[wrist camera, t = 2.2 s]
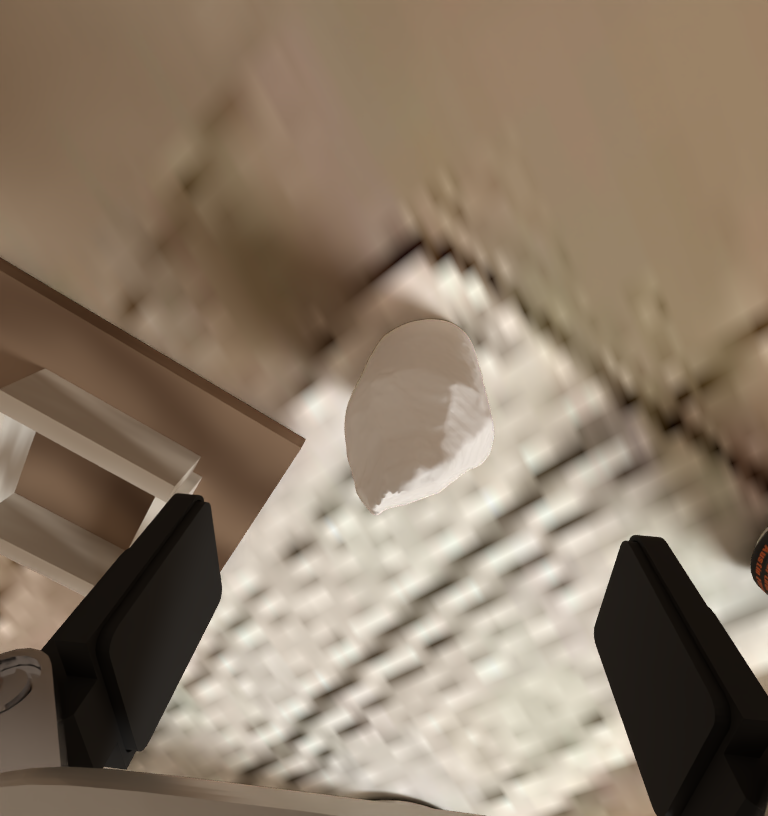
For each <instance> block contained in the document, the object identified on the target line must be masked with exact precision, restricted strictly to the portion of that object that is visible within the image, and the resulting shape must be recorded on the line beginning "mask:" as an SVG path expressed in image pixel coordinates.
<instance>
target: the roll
mask: <svg viewBox="0 0 768 816" xmlns="http://www.w3.org/2000/svg"><path fill="white" fill-rule="evenodd" d="M345 440H346V447H347V457H348V462H349V465H350V467H351V470H352V476H353V479H354V482H355V488H356V492H357V494H358V496H359V498H360V499H361V501H362V502H363V504H364V505H365V506H366V507H367V509H368V510H369V511H370V512H371V513H372V514H373V515H379V514H381V512H382V511H384V510H387V509H389V508H393V507H396V506H402V505H406V504H409V503H411V502H415V501H418V500H421V499H424V498H426V497H429V496H432V495H434V494H437V493H439V492H441V491H442V490H443V489H444V488H446V487H447V486H448V485H449V484H451V483H452V482H453V481H455V480H456V479H458V478H459V477H460V476H461V475H463V474H464V473H466V472H467V471H468V470H469V469H473V468H476V467H478V466H480V465H481V464H482V463H483V462H484V461H485V460H486V459H487V457H488V456H489V454H490V452H491V448H492V444H493V441H494V423H493V418H492V415H491V409H490V405H489V401H488V396H487V393H486V389H485V386H484V382H483V376H482V373H481V369H480V366H479V362H478V358H477V355H476V352H475V349H474V347H473V344H472V342H471V340H470V339H469V337H468V336H467V334H466V333H465V332H464V331H463V330H462V329H461V328H459V327H458V326H456V325H455V324H453V323H451V322H448V321H443V320H437V319H425V320H418V321H413V322H409V323H407V324H404V325H402V326H400V327H397V328H396V329H394V330H392V331H391V332H389V333H387V334H386V335H385V336H384V337H383V338H382V339H381V340H380V342H379V343H378V344H377V346H376V348H375V349H374V351H373V352H372V354H371V356H370V358H369V360H368V362H367V364H366V366H365V368H364V371H363V373H362V375H361V377H360V379H359V381H358V383H357V384H356V386H355V389H354V390H353V393H352V395H351V398H350V400H349V402H348V406H347V410H346V415H345Z"/></svg>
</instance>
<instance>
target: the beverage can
mask: <svg viewBox="0 0 768 816" xmlns="http://www.w3.org/2000/svg"><path fill="white" fill-rule="evenodd" d="M751 573H752V576H753V579H754V581H755V582H756V584H757V585H758V586H759V587H760V588H761V589H762V590H763V591H764V592H765V593H766V594H767V595H768V527H767V528H766V529H765V530H764V532H763V533H762V534H761V536H760V538H759V539H758V541H757V544H756V547H755V549H754V552H753V555H752V559H751Z"/></svg>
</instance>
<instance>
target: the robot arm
mask: <svg viewBox="0 0 768 816" xmlns="http://www.w3.org/2000/svg"><path fill="white" fill-rule="evenodd" d="M221 594H222V583H221V576H220V569H219V562H218V554H217V547H216V540H215V532H214V525H213V518H212V510H211V505H210V503H209V502H204V498H203V497H202V496H201V495H194V494H183V493H176V494H174V495H173V496H172V497H171V498H170V500H169V501H168V502H167V503H166V504H165V506H164V507H163V508H162V509H161V510H160V512H159V513H158V514H157V515H156V516H155V518H154V519H153V520H152V521H151V523H150V524H149V525H148V526H147V527H146V529H145V530H144V531H143V532H142V533H141V535H140V536H139V537H138V538H137V540H136V541H135V542H134V543H133V544H132V546H131V547H130V548H128V549H126V550H125V551H124V552H123V553H122V554H121V555H120V556H119V557H118V558H117V560H116V561H115V562H114V563H113V564H112V566H111V567H110V568H109V569H108V570H107V572H106V573H105V574H104V575H103V576H102V578H101V579H100V580H99V581H98V582H97V584H96V585H95V586H94V587H93V588H92V590H91V591H90V592H89V593H88V594H87V596H86V597H85V598H84V599H83V600H82V602H81V603H80V604H79V605H78V606H77V608H76V609H75V610H74V611H73V612H72V614H71V615H70V616H69V617H68V618H67V620H66V621H65V622H64V623H63V624H62V626H61V627H60V628H59V629H58V630H57V632H56V633H55V634H54V635H53V636H52V638H51V639H50V640H49V641H48V642H47V644H46V645H45V646H44V647H43V648H42V650H37V649H32V648H25V649H15V650H12V651H9V652H5V653H2V654H0V816H485V815H477V814H470V813H462V812H455V811H447V810H440V809H433V808H430V807H428V806H425V805H421V804H417V803H413V802H407V801H399V800H376V801H371V800H363V799H356V798H348V797H340V796H333V795H325V794H317V793H309V792H301V791H293V790H285V789H277V788H269V787H261V786H253V785H246V784H238V783H230V782H222V781H214V780H206V779H198V778H190V777H181V776H171V775H162V774H152V773H143V772H133V771H123V770H114V769H103V767H111V768H119V769H126V770H127V768H128V766H129V764H130V762H131V760H132V758H133V756H134V754H135V752H136V751H142V750H144V748H145V747H146V746H147V744H148V742H149V741H150V739H151V737H152V735H153V733H154V731H155V729H156V727H157V725H158V723H159V721H160V719H161V717H162V715H163V713H164V711H165V709H166V707H167V705H168V703H169V701H170V699H171V697H172V695H173V693H174V691H175V689H176V687H177V685H178V683H179V681H180V679H181V677H182V675H183V673H184V671H185V669H186V667H187V665H188V663H189V662H190V660H191V658H192V656H193V654H194V652H195V650H196V648H197V646H198V644H199V642H200V640H201V638H202V636H203V634H204V632H205V630H206V628H207V626H208V624H209V622H210V620H211V618H212V616H213V614H214V612H215V610H216V608H217V606H218V604H219V602H220V599H221ZM594 639H595V644H596V647H597V650H598V652H599V655H600V658H601V661H602V664H603V667H604V670H605V673H606V675H607V678H608V681H609V684H610V687H611V690H612V693H613V695H614V698H615V701H616V704H617V707H618V710H619V713H620V715H621V718H622V721H623V724H624V727H625V730H626V733H627V736H628V738H629V741H630V744H631V747H632V750H633V753H634V756H635V758H636V761H637V764H638V767H639V770H640V773H641V776H642V778H643V781H644V784H645V787H646V790H647V793H648V796H649V799H650V801H651V804H652V807H653V809H654V811H655V813H656V815H657V816H768V695H767V694H766V692H765V691H764V689H763V688H762V686H761V685H760V683H759V681H758V680H757V678H756V677H755V675H754V674H753V672H752V671H751V669H750V668H749V666H748V664H747V663H746V661H745V660H744V658H743V657H742V655H741V654H740V652H739V651H738V649H737V647H736V646H735V644H734V643H733V641H732V640H731V638H730V637H729V635H728V634H727V632H726V631H725V629H724V627H723V626H722V624H721V623H720V621H719V620H718V618H717V617H716V615H715V614H714V613H713V611H712V610H711V609H710V608H709V607H708V606H707V605H706V603H705V602H704V600H703V598H702V597H701V595H700V594H699V592H698V591H697V589H696V588H695V586H694V584H693V583H692V581H691V580H690V578H689V577H688V575H687V574H686V572H685V570H684V569H683V567H682V566H681V564H680V563H679V561H678V560H677V558H676V556H675V555H674V553H673V552H672V550H671V549H670V547H669V546H668V544H667V542H666V541H665V540H664V539H663V538H661V537H651V536H640V535H633V536H632V537H631V538H630V540H629V541H623V542H622V544H621V546H620V549H619V552H618V555H617V558H616V561H615V565H614V568H613V571H612V574H611V577H610V580H609V583H608V586H607V589H606V592H605V596H604V599H603V602H602V605H601V608H600V611H599V614H598V617H597V620H596V623H595V627H594Z"/></svg>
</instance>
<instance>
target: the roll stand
mask: <svg viewBox="0 0 768 816" xmlns="http://www.w3.org/2000/svg"><path fill="white" fill-rule="evenodd" d="M305 440H306V439H304V438H302V437H301V436H299V435H297V434H295V433H294V432H292V431H290V430H289V429H287V428H285V427H284V426H282V425H280V424H279V423H277V422H275V421H274V420H272V419H270V418H269V417H267V416H265V415H264V414H262V413H260V412H258V411H257V410H255V409H253V408H252V407H250V406H248V405H247V404H245V403H243V402H242V401H240V400H238V399H237V398H235V397H233V396H232V395H230V394H228V393H227V392H225V391H223V390H221V389H220V388H218V387H216V386H215V385H213V384H211V383H210V382H208V381H206V380H205V379H203V378H201V377H200V376H198V375H196V374H195V373H193V372H191V371H190V370H188V369H186V368H184V367H183V366H181V365H179V364H178V363H176V362H174V361H173V360H171V359H169V358H168V357H166V356H164V355H163V354H161V353H159V352H158V351H156V350H154V349H153V348H151V347H149V346H147V345H146V344H144V343H142V342H141V341H139V340H137V339H136V338H134V337H132V336H131V335H129V334H127V333H126V332H124V331H122V330H121V329H119V328H117V327H116V326H114V325H112V324H110V323H109V322H107V321H105V320H104V319H102V318H100V317H99V316H97V315H95V314H94V313H92V312H90V311H89V310H87V309H85V308H84V307H82V306H80V305H79V304H77V303H75V302H74V301H72V300H70V299H68V298H67V297H65V296H63V295H62V294H60V293H58V292H57V291H55V290H53V289H52V288H50V287H48V286H47V285H45V284H43V283H42V282H40V281H38V280H37V279H35V278H33V277H31V276H30V275H28V274H26V273H25V272H23V271H21V270H20V269H18V268H16V267H15V266H13V265H11V264H10V263H8V262H6V261H5V260H3V259H1V258H0V554H1V555H3V556H5V557H7V558H9V559H11V560H13V561H15V562H17V563H19V564H21V565H23V566H25V567H27V568H29V569H31V570H33V571H35V572H37V573H39V574H41V575H43V576H45V577H47V578H49V579H51V580H53V581H55V582H57V583H59V584H61V585H63V586H65V587H67V588H69V589H71V590H73V591H75V592H77V593H79V594H81V595H83V596H85V597H86V596H87V594H88V593H89V592H90V591H91V590H92V588H93V587H94V586H95V585H96V584H97V582H98V581H99V580H100V579H101V578H102V576H103V575H104V574H105V573H106V572H107V570H108V569H109V568H110V567H111V566H112V564H113V563H114V562H115V561H116V560H117V558H118V557H119V556H120V555H121V554H122V553H123V552H124V551H125V550H126V549H128V548H130V547H131V546H132V544H133V543H134V542H135V541H136V540H137V538H138V537H139V536H140V535H141V533H142V532H143V531H144V530H145V529H146V527H147V526H148V525H149V524H150V523H151V521H152V520H153V519H154V518H155V516H156V515H157V514H158V513H159V512H160V510H161V509H162V508H163V507H164V506H165V504H166V503H167V502H168V501H169V500H170V498H171V497H172V496H173V495H174V494H176V493H183V494H194V495H201V496H202V497H203V498H204V502H209V503H210V505H211V510H212V518H213V525H214V532H215V540H216V547H217V554H218V562H219V569H220V572H221V570H222V568H223V567H224V565H225V564H226V562H227V561H228V559H229V558H230V556H231V555H232V553H233V552H234V550H235V549H236V547H237V545H238V544H239V542H240V541H241V539H242V538H243V536H244V535H245V533H246V532H247V530H248V529H249V527H250V526H251V524H252V523H253V521H254V519H255V518H256V516H257V515H258V513H259V512H260V510H261V509H262V507H263V506H264V504H265V503H266V501H267V500H268V498H269V497H270V495H271V493H272V492H273V490H274V489H275V487H276V486H277V484H278V483H279V481H280V480H281V478H282V477H283V475H284V474H285V472H286V470H287V469H288V467H289V466H290V464H291V463H292V461H293V460H294V458H295V457H296V455H297V454H298V452H299V451H300V449H301V447H302V445H303V444H304V442H305Z"/></svg>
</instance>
